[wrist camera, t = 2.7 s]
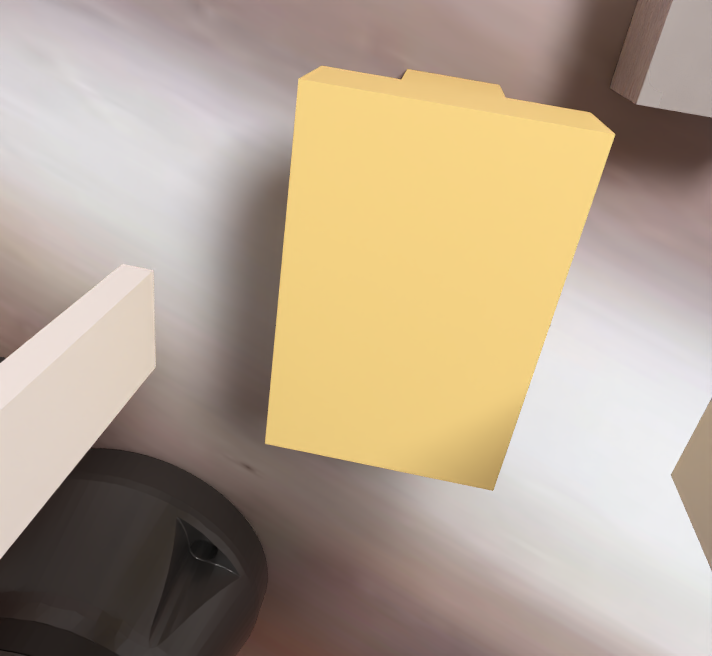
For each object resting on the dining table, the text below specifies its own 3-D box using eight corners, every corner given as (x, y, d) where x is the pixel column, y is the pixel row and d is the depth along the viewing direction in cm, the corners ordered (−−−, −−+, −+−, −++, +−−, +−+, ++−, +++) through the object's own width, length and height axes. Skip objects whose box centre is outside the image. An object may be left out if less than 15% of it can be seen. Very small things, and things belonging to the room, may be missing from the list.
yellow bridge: (310, 334, 27) (265, 443, 20) (345, 52, 21) (298, 79, 15) (483, 368, 27) (493, 490, 20) (565, 89, 21) (615, 134, 15)
